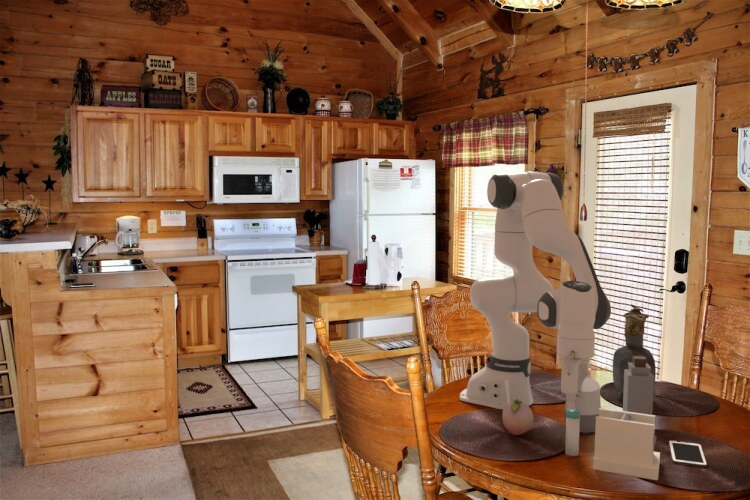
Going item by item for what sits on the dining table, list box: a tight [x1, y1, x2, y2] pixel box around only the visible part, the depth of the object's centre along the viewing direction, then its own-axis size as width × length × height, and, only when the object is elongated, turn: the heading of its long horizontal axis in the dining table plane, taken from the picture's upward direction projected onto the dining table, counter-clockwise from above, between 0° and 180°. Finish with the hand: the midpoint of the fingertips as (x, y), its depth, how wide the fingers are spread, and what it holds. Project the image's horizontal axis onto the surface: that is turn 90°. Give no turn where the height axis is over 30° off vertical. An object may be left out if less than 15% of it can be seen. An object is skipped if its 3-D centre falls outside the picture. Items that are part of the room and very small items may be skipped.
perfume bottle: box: [622, 356, 655, 415], centre depth 189 cm, size 7×7×18 cm
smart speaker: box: [564, 376, 602, 435], centre depth 180 cm, size 10×9×14 cm
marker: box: [564, 409, 580, 457], centre depth 164 cm, size 3×3×11 cm
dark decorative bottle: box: [612, 304, 657, 401], centre depth 207 cm, size 11×19×30 cm, turn 172°
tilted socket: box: [592, 407, 661, 481], centre depth 156 cm, size 14×11×12 cm
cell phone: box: [668, 439, 708, 468], centre depth 164 cm, size 8×15×1 cm, turn 160°
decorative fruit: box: [501, 399, 535, 436], centre depth 176 cm, size 9×8×10 cm
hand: (574, 403), depth 163 cm, fingers open, 8 cm apart
